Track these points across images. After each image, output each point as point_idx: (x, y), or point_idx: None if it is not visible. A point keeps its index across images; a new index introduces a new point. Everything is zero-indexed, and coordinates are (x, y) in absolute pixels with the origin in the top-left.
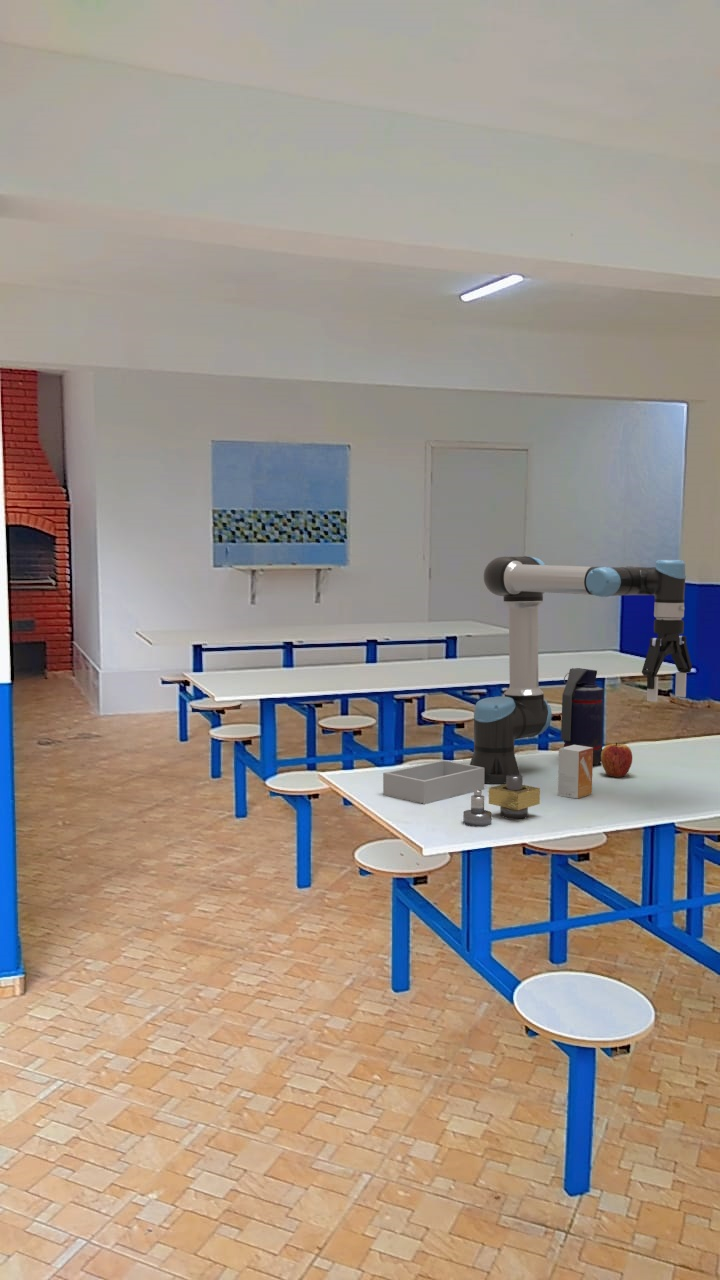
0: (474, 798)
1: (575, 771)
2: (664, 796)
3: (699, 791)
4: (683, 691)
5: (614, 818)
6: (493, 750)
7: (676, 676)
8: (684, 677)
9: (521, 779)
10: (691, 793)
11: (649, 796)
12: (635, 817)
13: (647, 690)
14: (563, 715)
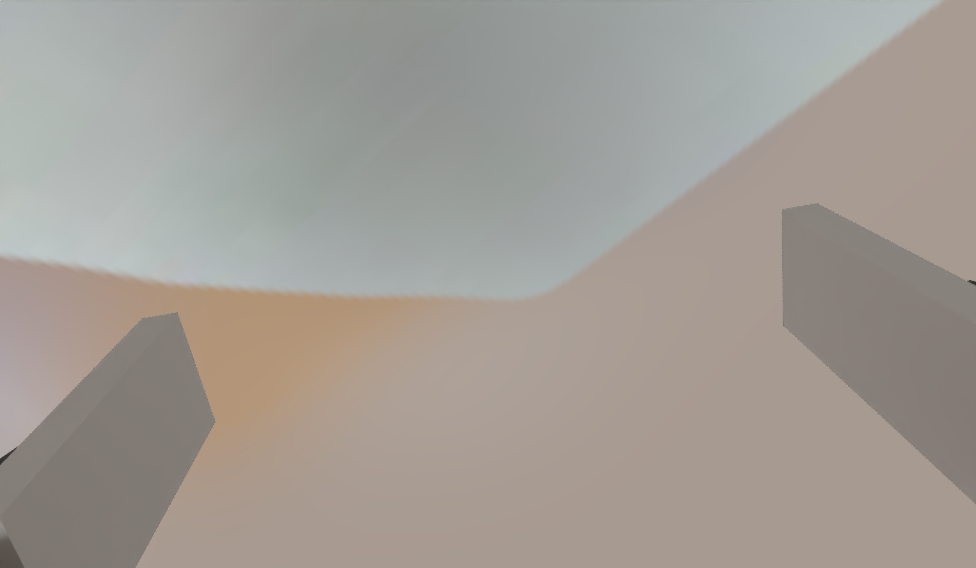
0: None
1: None
2: (530, 69)
3: (752, 89)
4: (816, 344)
5: (36, 235)
6: None
7: (948, 324)
8: (939, 459)
9: None
10: (687, 96)
11: (468, 28)
12: (133, 267)
13: (84, 386)
14: None
